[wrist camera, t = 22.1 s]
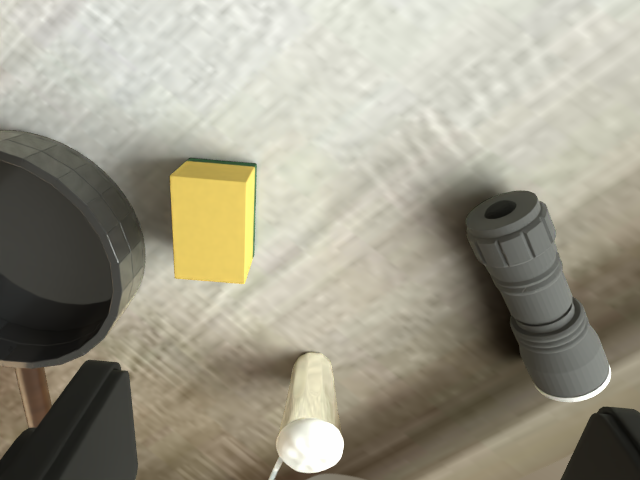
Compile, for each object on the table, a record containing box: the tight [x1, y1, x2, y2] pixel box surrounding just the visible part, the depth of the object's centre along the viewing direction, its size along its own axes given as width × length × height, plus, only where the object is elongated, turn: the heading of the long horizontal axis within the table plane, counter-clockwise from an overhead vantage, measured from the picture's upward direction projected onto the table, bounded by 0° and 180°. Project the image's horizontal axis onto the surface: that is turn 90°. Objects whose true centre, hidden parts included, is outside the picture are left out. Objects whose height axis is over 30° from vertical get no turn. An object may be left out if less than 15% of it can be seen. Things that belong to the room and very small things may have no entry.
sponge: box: [170, 158, 257, 284], centre depth 31 cm, size 7×5×4 cm, turn 175°
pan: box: [0, 130, 145, 369], centre depth 32 cm, size 16×16×4 cm
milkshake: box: [268, 352, 344, 480], centre depth 34 cm, size 4×5×10 cm
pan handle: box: [14, 367, 52, 428], centre depth 36 cm, size 9×2×2 cm, turn 175°
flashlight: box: [466, 191, 611, 402], centre depth 32 cm, size 15×5×5 cm, turn 29°
